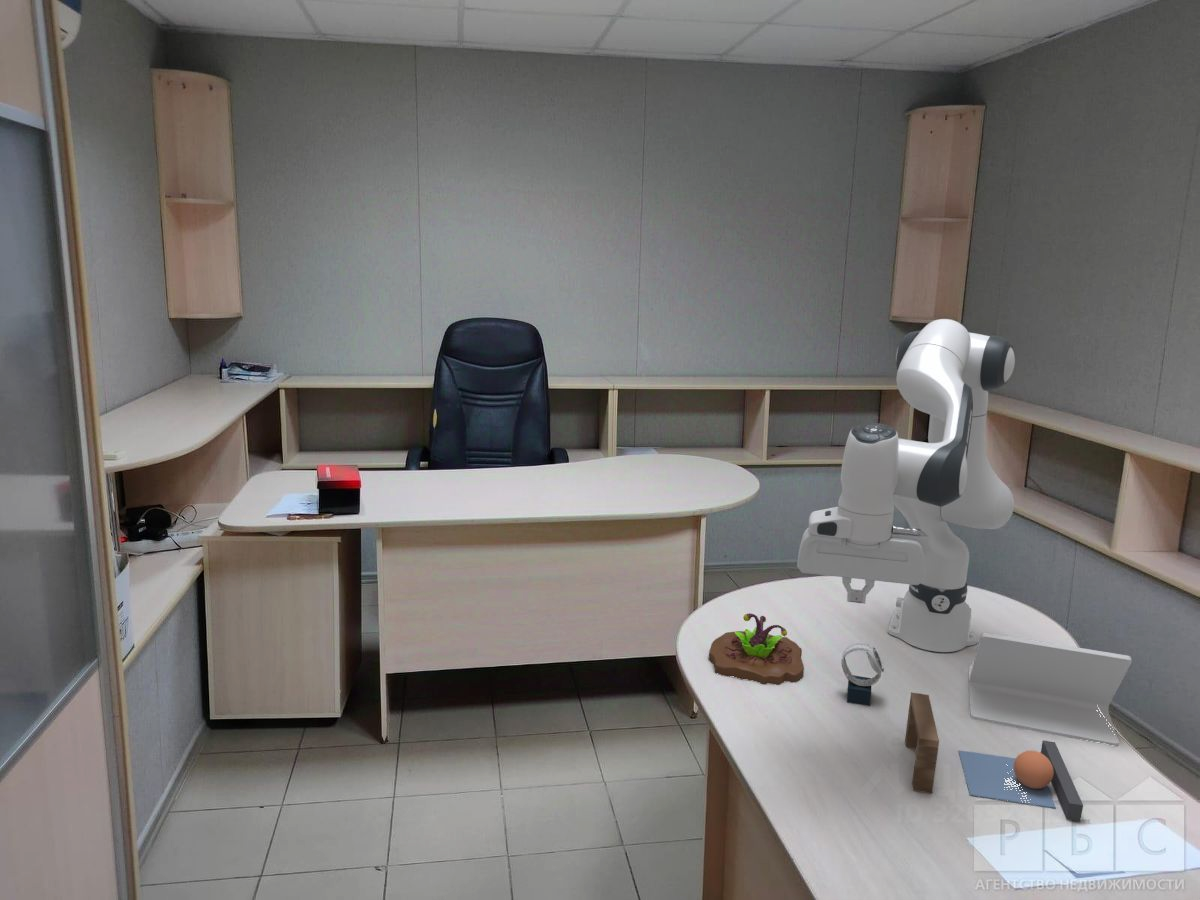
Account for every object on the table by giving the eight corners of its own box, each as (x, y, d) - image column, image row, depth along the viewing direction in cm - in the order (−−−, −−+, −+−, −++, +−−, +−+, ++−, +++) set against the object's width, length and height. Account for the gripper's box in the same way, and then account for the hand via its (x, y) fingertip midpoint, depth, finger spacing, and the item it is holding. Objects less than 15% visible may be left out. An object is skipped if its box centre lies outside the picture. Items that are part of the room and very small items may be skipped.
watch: (880, 707, 173) (886, 656, 170) (837, 700, 175) (842, 649, 172) (880, 693, 178) (885, 643, 176) (838, 687, 180) (843, 637, 178)
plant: (711, 636, 202) (714, 590, 199) (800, 645, 199) (804, 598, 196) (706, 680, 183) (709, 630, 180) (804, 690, 180) (809, 639, 177)
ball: (1052, 775, 152) (1014, 778, 154) (1045, 742, 151) (1007, 746, 153) (1060, 794, 146) (1020, 797, 148) (1053, 759, 146) (1014, 763, 147)
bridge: (913, 790, 148) (919, 738, 146) (904, 740, 162) (910, 692, 160) (932, 793, 148) (939, 741, 145) (922, 742, 162) (928, 694, 159)
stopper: (1040, 755, 159) (1042, 740, 158) (1052, 757, 158) (1054, 742, 158) (1066, 819, 142) (1069, 803, 141) (1080, 821, 141) (1083, 805, 141)
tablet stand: (1119, 748, 162) (1135, 663, 158) (970, 720, 170) (982, 638, 166) (1102, 699, 179) (1116, 620, 174) (967, 675, 187) (977, 600, 182)
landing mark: (958, 751, 160) (958, 750, 159) (1037, 762, 157) (1037, 761, 157) (969, 795, 147) (970, 794, 147) (1055, 808, 144) (1055, 807, 144)
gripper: (928, 523, 148) (919, 601, 151) (801, 511, 152) (795, 587, 156) (933, 536, 142) (923, 616, 145) (800, 523, 146) (794, 602, 150)
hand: (855, 601), depth 150 cm, fingers closed
